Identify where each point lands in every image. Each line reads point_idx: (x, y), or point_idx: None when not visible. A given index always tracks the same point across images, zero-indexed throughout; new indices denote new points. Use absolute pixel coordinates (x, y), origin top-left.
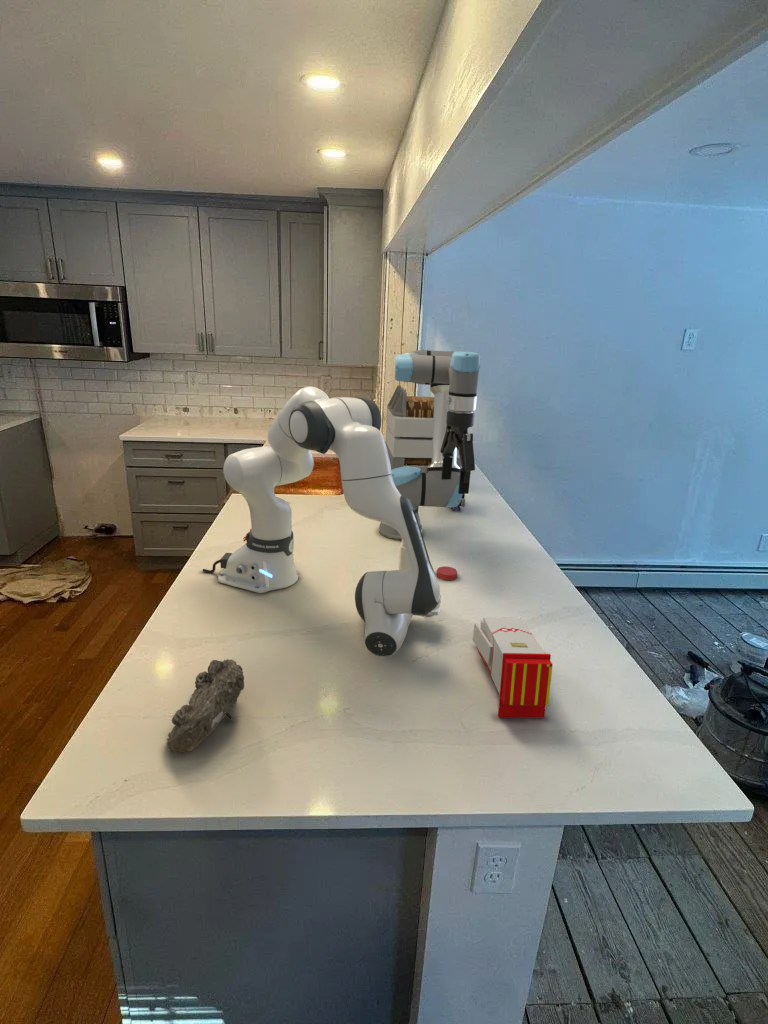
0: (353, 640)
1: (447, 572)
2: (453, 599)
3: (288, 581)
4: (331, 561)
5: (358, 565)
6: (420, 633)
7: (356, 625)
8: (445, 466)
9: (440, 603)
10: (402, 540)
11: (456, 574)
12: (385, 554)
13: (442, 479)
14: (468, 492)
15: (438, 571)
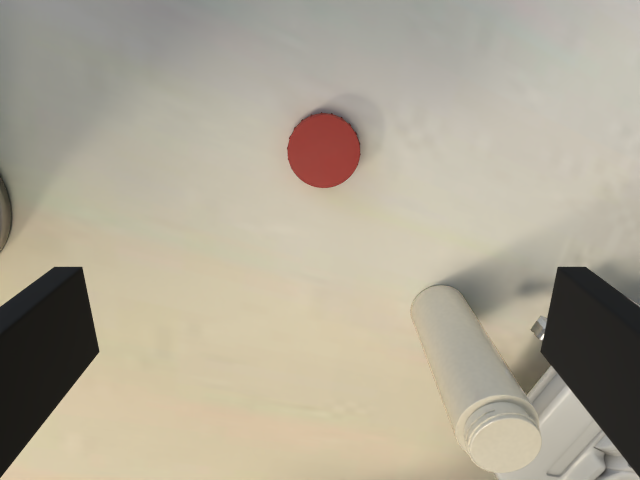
0: None
1: (337, 156)
2: (481, 184)
3: None
4: (183, 439)
5: (215, 383)
6: None
7: None
8: (3, 436)
9: (628, 298)
10: (497, 472)
11: (348, 124)
12: (138, 296)
13: (97, 349)
14: (590, 272)
15: (325, 185)
